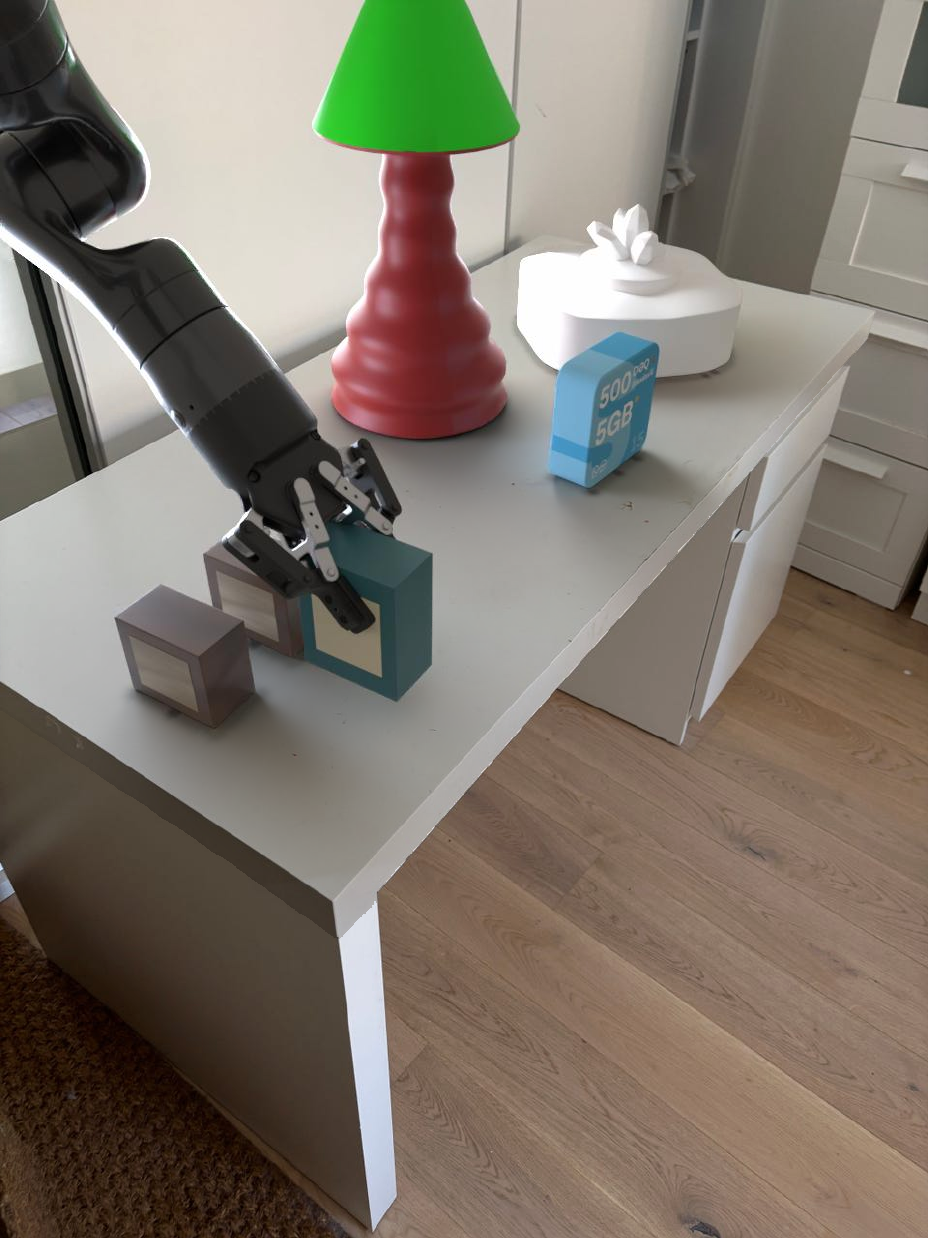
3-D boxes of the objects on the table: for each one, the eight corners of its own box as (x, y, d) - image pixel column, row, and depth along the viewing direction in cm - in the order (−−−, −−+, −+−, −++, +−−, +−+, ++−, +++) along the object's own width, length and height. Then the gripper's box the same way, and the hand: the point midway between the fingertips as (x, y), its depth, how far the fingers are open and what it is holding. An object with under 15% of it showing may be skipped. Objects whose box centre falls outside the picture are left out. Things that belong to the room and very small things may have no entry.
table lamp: (366, 457, 99) (339, -83, 70) (309, 376, 113) (266, -103, 84) (537, 422, 106) (576, -86, 77) (463, 350, 119) (473, -104, 91)
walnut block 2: (292, 658, 76) (283, 588, 71) (214, 623, 79) (201, 553, 74) (328, 625, 79) (322, 556, 74) (252, 593, 82) (241, 524, 77)
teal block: (396, 702, 67) (393, 589, 61) (304, 661, 70) (293, 549, 64) (432, 665, 70) (433, 553, 64) (342, 626, 73) (335, 516, 67)
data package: (584, 494, 95) (597, 380, 87) (546, 478, 97) (556, 366, 89) (645, 446, 102) (662, 338, 94) (609, 433, 104) (622, 326, 96)
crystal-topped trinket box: (558, 386, 112) (571, 246, 102) (501, 304, 131) (507, 178, 120) (754, 368, 117) (786, 232, 107) (673, 291, 136) (693, 169, 125)
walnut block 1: (213, 729, 70) (198, 657, 65) (133, 688, 73) (113, 617, 68) (256, 691, 73) (244, 620, 68) (176, 653, 76) (160, 582, 71)
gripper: (175, 416, 55) (357, 650, 58) (327, 331, 65) (477, 536, 68) (126, 470, 60) (295, 682, 64) (273, 385, 70) (414, 572, 73)
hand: (388, 605), depth 66 cm, fingers closed on teal block, 4 cm apart
